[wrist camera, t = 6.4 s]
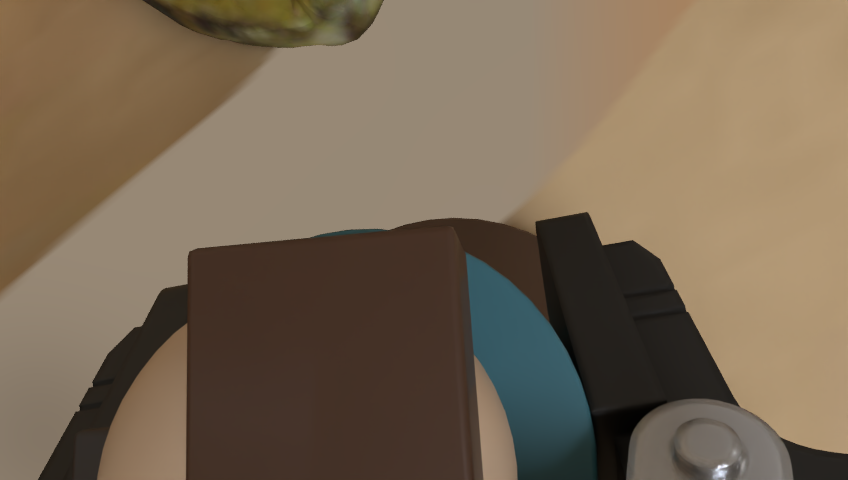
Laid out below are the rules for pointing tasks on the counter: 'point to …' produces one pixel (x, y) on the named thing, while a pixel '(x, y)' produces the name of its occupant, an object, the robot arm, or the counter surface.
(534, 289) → the stand
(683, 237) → the counter surface
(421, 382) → the teal pump bottle
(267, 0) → the mottled olive oval disc
